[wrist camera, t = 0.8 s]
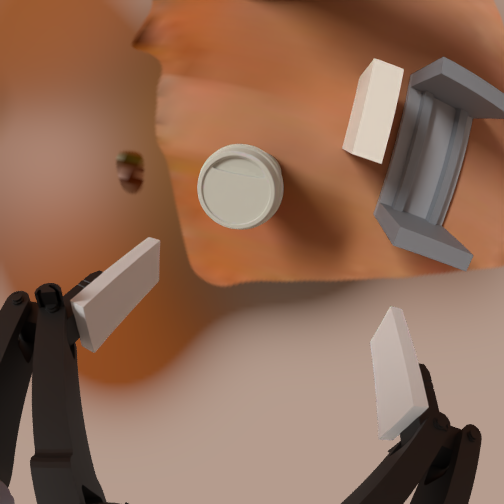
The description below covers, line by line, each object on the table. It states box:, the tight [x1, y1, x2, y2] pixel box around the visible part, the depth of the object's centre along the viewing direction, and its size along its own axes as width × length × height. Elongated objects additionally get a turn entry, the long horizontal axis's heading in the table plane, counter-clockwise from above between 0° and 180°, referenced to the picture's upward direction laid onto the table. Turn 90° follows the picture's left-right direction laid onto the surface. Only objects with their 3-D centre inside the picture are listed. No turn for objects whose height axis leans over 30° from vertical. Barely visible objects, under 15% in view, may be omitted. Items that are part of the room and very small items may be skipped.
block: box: [342, 58, 404, 164], centre depth 26 cm, size 10×3×10 cm, turn 168°
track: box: [374, 57, 504, 271], centre depth 26 cm, size 20×10×11 cm, turn 168°
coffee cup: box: [197, 144, 284, 229], centre depth 31 cm, size 9×8×12 cm
